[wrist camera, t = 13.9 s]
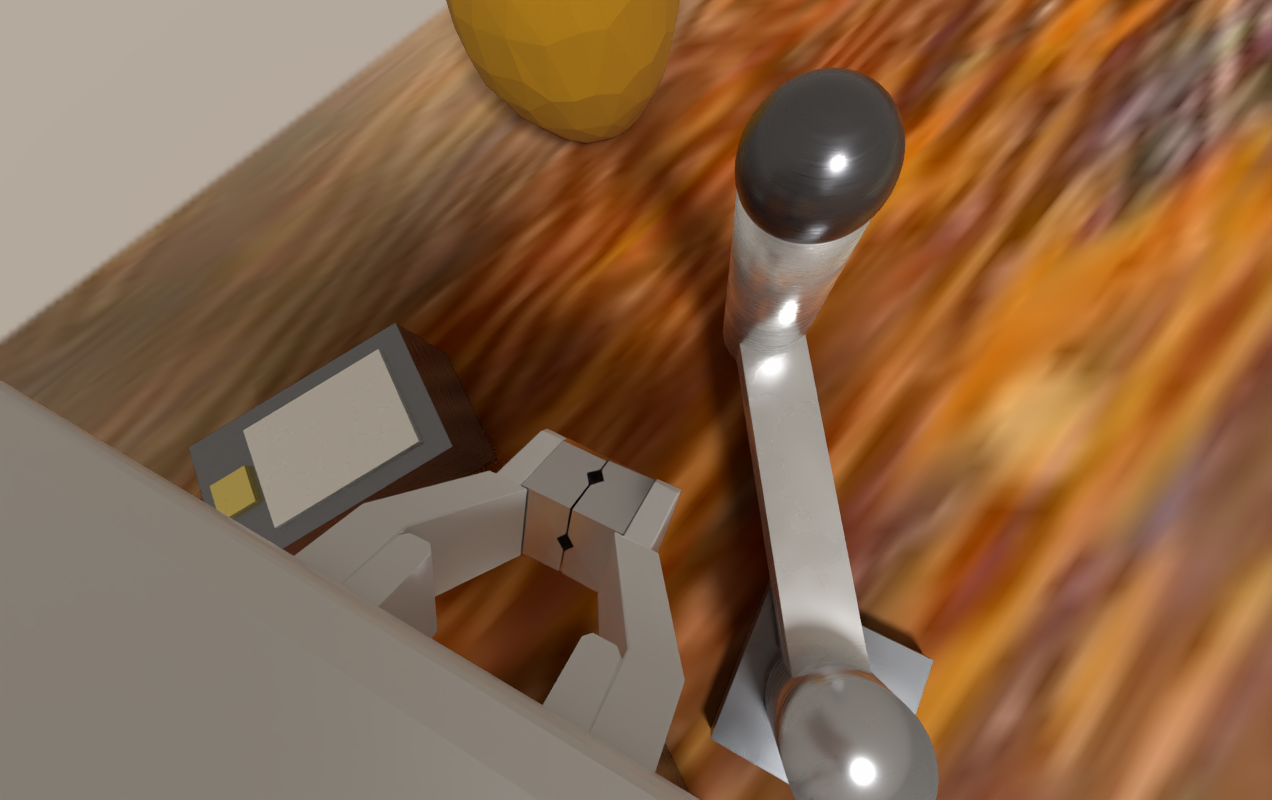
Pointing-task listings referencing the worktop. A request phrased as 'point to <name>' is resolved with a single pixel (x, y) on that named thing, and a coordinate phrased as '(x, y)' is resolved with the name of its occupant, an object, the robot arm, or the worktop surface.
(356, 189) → the worktop surface
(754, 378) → the grey crank handle
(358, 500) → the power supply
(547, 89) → the apple
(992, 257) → the worktop surface
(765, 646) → the arm mount
